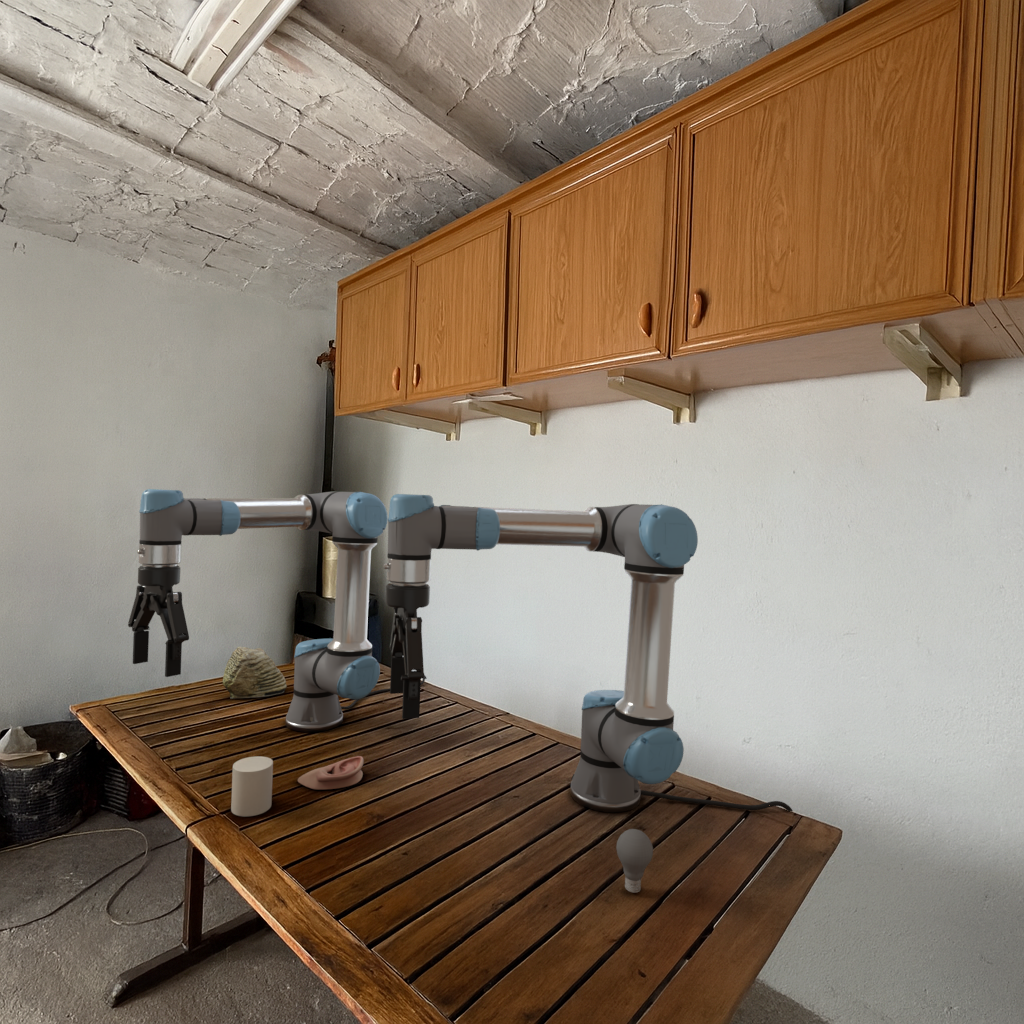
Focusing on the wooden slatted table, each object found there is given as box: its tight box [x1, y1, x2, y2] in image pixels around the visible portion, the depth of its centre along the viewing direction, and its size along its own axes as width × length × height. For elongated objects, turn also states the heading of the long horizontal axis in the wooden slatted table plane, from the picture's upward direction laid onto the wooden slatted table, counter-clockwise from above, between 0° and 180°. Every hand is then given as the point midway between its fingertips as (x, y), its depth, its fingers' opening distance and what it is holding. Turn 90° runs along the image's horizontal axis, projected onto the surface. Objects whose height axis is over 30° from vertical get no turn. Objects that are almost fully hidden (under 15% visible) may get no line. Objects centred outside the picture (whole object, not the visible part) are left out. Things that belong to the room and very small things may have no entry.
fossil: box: [222, 646, 288, 699], centre depth 198 cm, size 9×18×15 cm, turn 132°
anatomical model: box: [297, 755, 364, 791], centre depth 142 cm, size 13×4×12 cm
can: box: [230, 755, 274, 817], centre depth 128 cm, size 8×8×9 cm
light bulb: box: [615, 828, 654, 894], centre depth 106 cm, size 6×6×10 cm
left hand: (156, 669), depth 129 cm, fingers open, 13 cm apart
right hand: (403, 704), depth 110 cm, fingers open, 13 cm apart
